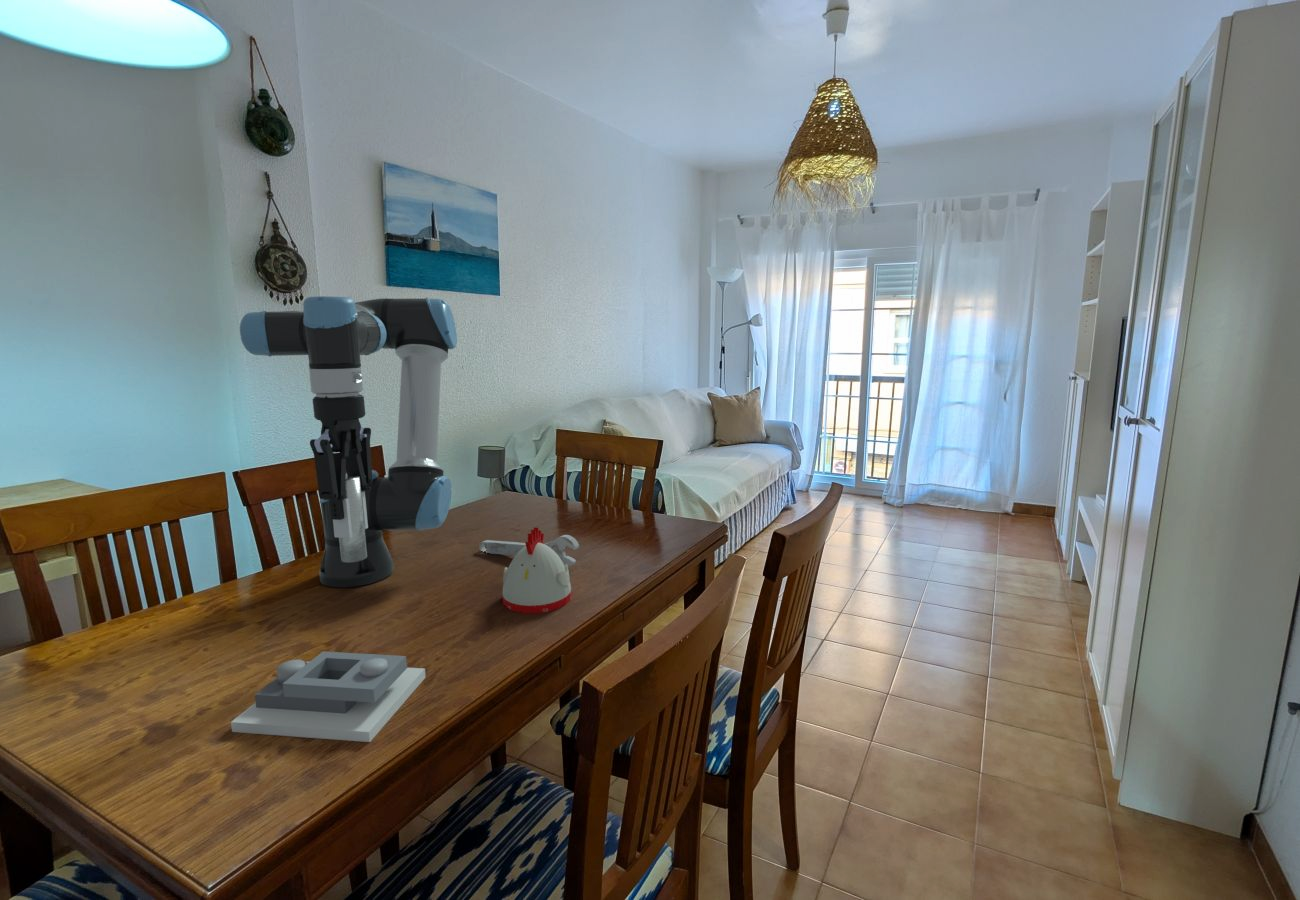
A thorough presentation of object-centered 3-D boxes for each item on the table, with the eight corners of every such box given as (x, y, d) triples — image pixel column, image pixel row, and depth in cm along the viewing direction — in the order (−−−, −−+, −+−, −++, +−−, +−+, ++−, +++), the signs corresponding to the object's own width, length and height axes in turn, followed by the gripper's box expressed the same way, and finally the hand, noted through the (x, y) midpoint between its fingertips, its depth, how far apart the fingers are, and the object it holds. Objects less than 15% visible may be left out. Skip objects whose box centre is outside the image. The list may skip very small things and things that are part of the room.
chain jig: (232, 731, 85) (226, 688, 84) (307, 670, 101) (303, 632, 100) (369, 742, 83) (365, 697, 82) (425, 677, 99) (422, 639, 98)
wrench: (486, 561, 157) (582, 569, 142) (480, 563, 156) (577, 572, 141) (481, 530, 156) (578, 535, 141) (476, 532, 155) (573, 537, 140)
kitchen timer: (491, 610, 123) (487, 537, 120) (517, 583, 136) (514, 517, 133) (559, 615, 120) (557, 541, 118) (579, 587, 134) (577, 520, 131)
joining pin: (336, 562, 105) (327, 480, 102) (350, 553, 109) (342, 475, 106) (358, 562, 104) (350, 481, 102) (371, 554, 108) (364, 475, 106)
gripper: (327, 400, 93) (342, 550, 97) (387, 389, 109) (398, 518, 114) (280, 399, 93) (297, 548, 98) (347, 389, 110) (359, 517, 114)
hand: (351, 532), depth 106 cm, fingers closed on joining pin, 4 cm apart
